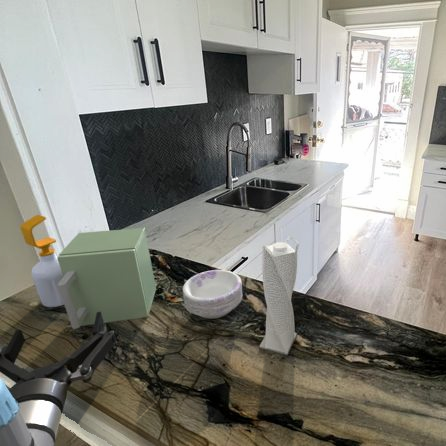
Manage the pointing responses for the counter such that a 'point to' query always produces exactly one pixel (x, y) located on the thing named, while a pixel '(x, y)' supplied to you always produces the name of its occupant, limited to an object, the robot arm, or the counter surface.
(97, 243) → the cupboard
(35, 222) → the soap bottle
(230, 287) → the paper bowls
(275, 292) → the skyscraper
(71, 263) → the cupboard door
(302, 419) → the counter surface
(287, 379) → the counter surface
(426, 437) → the counter surface
